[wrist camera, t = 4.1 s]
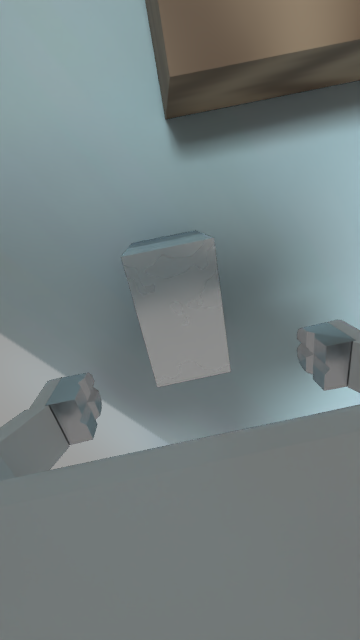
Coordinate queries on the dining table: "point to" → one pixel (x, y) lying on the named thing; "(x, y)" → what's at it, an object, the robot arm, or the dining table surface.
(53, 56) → the dining table surface
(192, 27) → the walnut stand
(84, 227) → the dining table surface
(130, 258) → the block
